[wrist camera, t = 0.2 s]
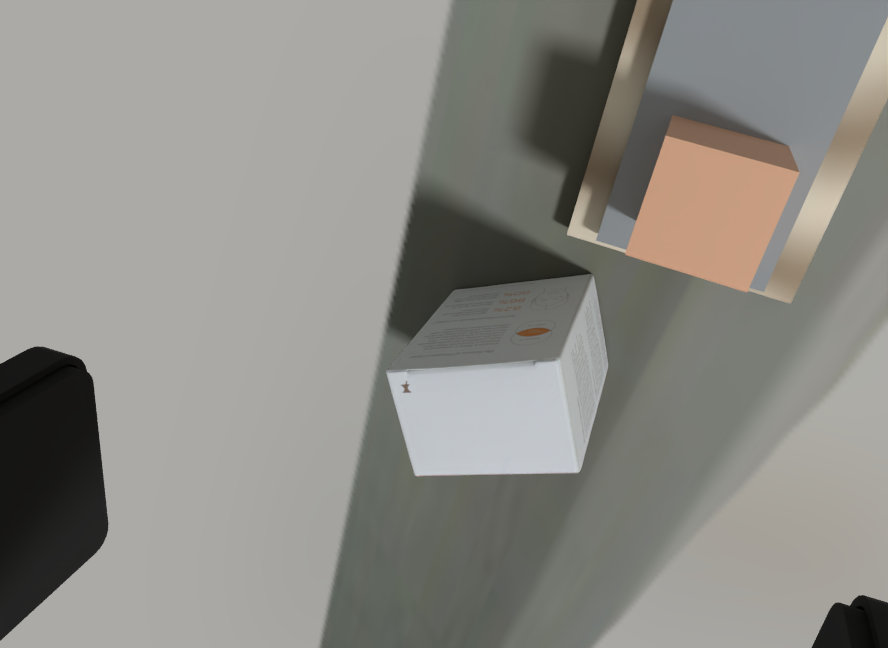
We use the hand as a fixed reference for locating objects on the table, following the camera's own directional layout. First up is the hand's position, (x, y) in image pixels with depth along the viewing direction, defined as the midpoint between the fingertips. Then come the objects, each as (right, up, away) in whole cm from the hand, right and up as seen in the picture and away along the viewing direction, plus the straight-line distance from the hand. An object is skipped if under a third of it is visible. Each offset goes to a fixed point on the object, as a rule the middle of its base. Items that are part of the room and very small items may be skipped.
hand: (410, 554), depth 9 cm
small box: (+5, +3, +32) cm, 33 cm away
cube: (+12, +9, +24) cm, 29 cm away
